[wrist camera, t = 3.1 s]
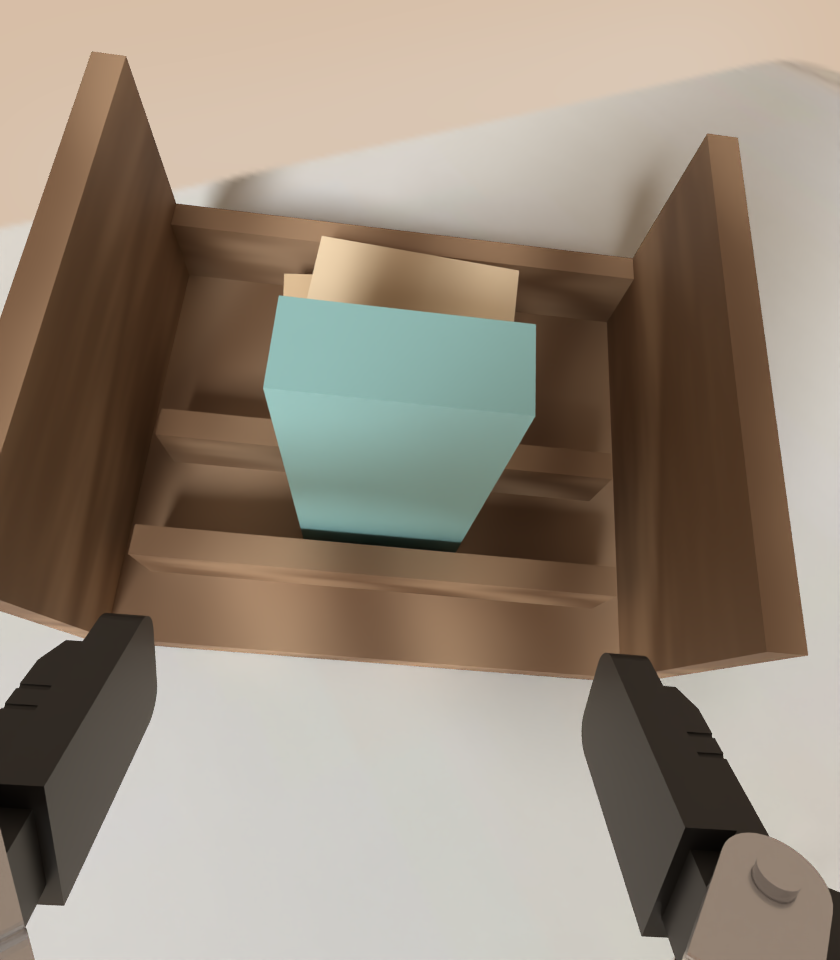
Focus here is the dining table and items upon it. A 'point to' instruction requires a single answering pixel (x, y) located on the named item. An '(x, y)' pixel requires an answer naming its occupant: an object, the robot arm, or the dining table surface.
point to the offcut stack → (406, 281)
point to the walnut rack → (260, 470)
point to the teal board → (395, 417)
